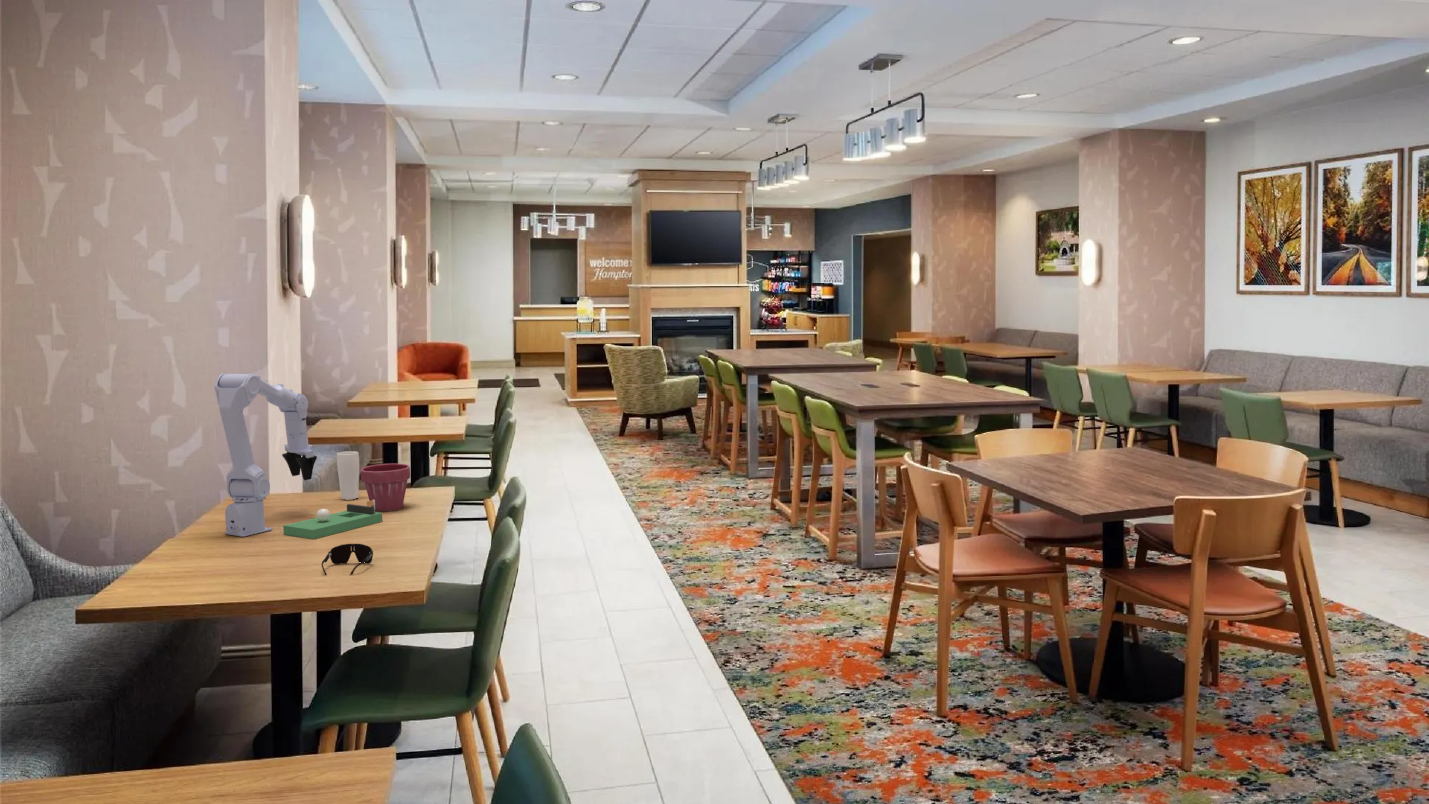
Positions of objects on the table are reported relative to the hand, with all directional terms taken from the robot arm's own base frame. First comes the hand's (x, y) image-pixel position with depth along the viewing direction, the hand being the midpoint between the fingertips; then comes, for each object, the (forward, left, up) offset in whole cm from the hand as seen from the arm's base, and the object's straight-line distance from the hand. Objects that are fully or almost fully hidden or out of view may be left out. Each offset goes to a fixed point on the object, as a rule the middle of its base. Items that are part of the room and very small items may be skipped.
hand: (301, 477), depth 309 cm
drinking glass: (+22, +5, -11) cm, 25 cm away
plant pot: (+17, -17, -11) cm, 26 cm away
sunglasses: (-39, -62, -11) cm, 74 cm away
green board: (-9, -24, -11) cm, 28 cm away
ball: (-13, -24, -7) cm, 28 cm away
